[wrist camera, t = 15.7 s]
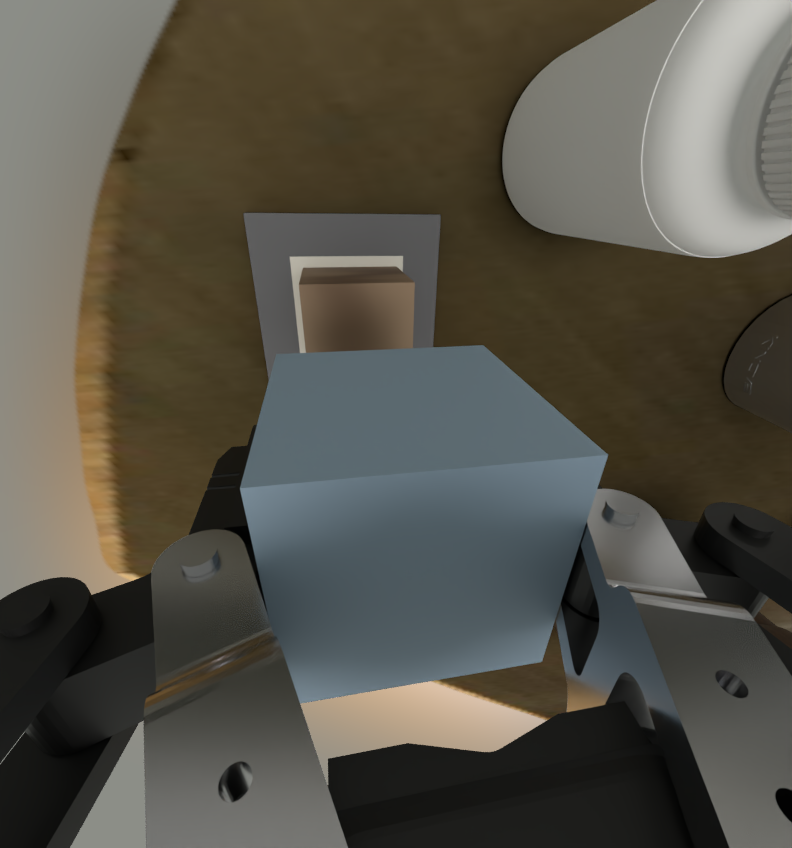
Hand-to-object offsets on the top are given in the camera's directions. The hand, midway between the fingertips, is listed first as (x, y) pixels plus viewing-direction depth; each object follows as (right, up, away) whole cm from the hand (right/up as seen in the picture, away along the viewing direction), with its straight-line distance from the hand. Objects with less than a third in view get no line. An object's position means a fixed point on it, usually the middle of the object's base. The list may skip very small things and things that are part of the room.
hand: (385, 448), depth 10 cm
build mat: (-2, +7, +13) cm, 15 cm away
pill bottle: (+9, +15, +11) cm, 21 cm away
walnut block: (-2, +7, +12) cm, 14 cm away
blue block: (0, 0, 0) cm, 0 cm away
